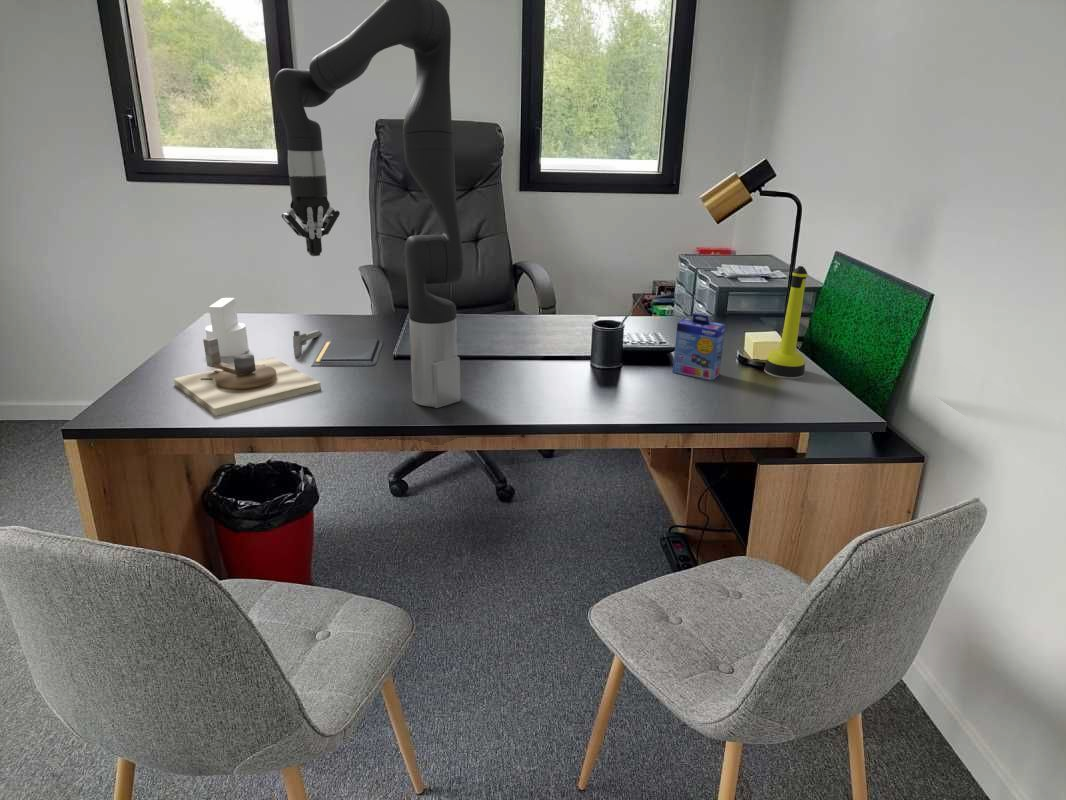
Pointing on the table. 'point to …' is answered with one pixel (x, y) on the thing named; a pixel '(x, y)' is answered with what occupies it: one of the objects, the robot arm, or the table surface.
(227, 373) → the dial
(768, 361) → the flashlight
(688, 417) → the table surface
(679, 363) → the ink cartridge box
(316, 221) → the robot arm
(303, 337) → the caliper
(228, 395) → the dial board
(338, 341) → the dark grey flat block
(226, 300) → the cylinder with rectangular tab
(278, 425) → the table surface
